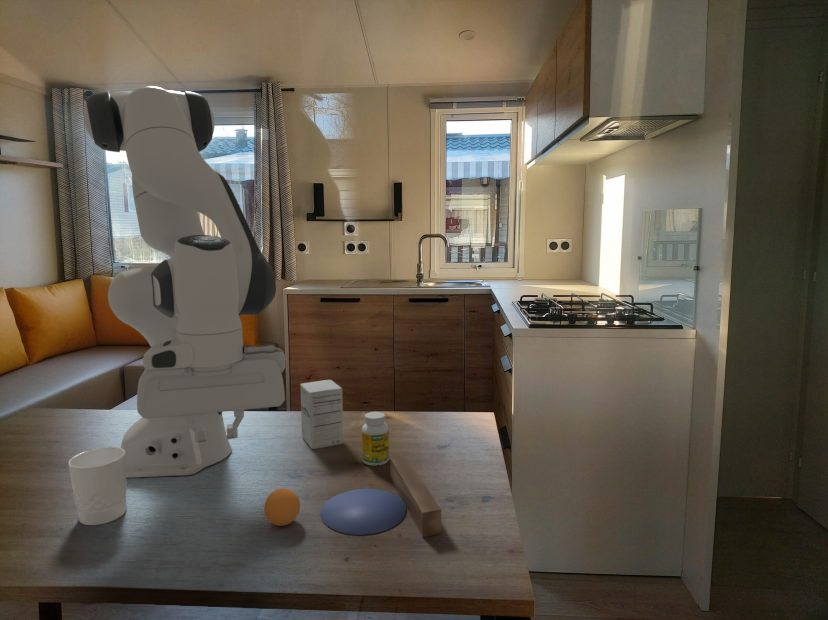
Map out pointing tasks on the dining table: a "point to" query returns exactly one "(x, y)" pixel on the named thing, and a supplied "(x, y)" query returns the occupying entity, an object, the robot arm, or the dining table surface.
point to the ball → (282, 507)
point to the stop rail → (415, 496)
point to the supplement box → (322, 413)
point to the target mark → (363, 511)
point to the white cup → (99, 484)
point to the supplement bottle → (375, 439)
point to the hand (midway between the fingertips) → (217, 439)
